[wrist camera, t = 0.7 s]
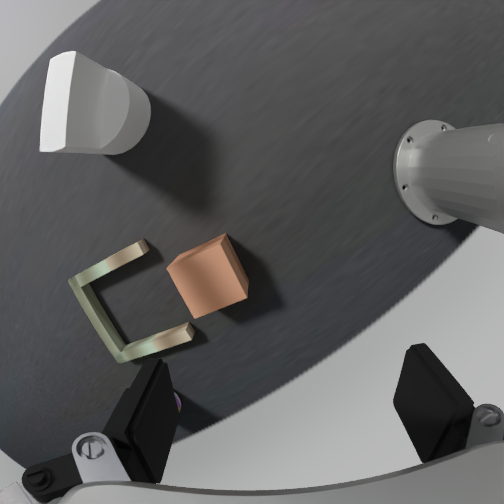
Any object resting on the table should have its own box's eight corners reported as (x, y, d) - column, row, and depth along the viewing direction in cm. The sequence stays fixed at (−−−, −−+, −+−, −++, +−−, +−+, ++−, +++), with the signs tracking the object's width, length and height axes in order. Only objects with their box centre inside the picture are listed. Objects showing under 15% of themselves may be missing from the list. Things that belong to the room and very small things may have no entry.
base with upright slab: (149, 152, 31) (94, 145, 19) (83, 157, 31) (18, 158, 19) (154, 77, 28) (106, 40, 17) (88, 88, 29) (28, 65, 17)
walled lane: (143, 238, 33) (137, 242, 31) (194, 331, 36) (191, 339, 34) (75, 275, 35) (67, 280, 33) (123, 355, 38) (118, 363, 36)
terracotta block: (226, 233, 33) (220, 243, 28) (249, 280, 34) (247, 298, 30) (179, 254, 34) (166, 268, 29) (202, 299, 35) (194, 318, 30)
